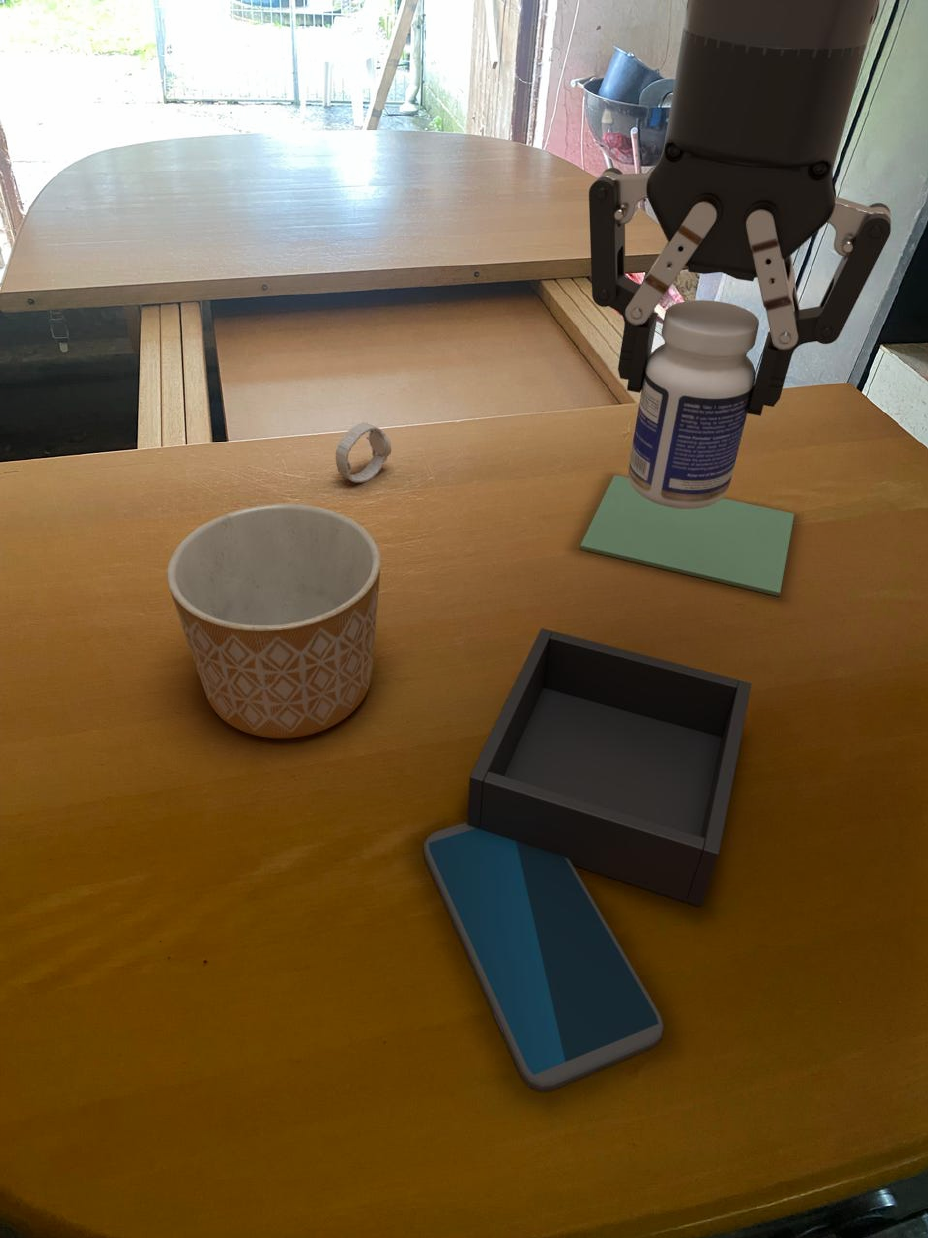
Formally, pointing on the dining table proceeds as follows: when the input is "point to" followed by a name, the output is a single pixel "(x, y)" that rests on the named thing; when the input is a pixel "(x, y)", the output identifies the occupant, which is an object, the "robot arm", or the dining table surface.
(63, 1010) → the dining table surface
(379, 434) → the wristwatch
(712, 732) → the black box
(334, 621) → the planter
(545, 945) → the smartphone
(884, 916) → the dining table surface
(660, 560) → the mat
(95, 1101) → the dining table surface
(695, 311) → the pill bottle
